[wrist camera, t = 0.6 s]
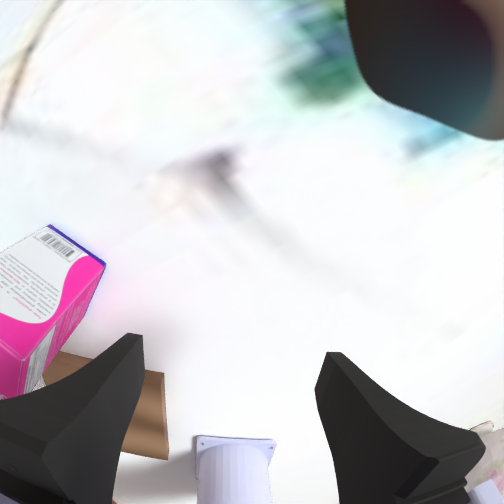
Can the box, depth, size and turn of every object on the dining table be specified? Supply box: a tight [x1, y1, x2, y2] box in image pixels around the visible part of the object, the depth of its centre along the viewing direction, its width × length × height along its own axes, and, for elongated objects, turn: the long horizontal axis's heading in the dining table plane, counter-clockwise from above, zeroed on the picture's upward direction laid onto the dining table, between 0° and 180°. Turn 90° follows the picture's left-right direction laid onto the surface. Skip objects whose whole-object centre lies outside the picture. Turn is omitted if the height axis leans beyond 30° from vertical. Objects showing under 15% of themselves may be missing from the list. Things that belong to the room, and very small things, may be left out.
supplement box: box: [0, 224, 106, 400], centre depth 15 cm, size 6×6×12 cm
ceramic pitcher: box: [464, 421, 504, 499], centre depth 22 cm, size 22×20×25 cm
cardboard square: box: [43, 351, 169, 460], centre depth 25 cm, size 12×12×2 cm
